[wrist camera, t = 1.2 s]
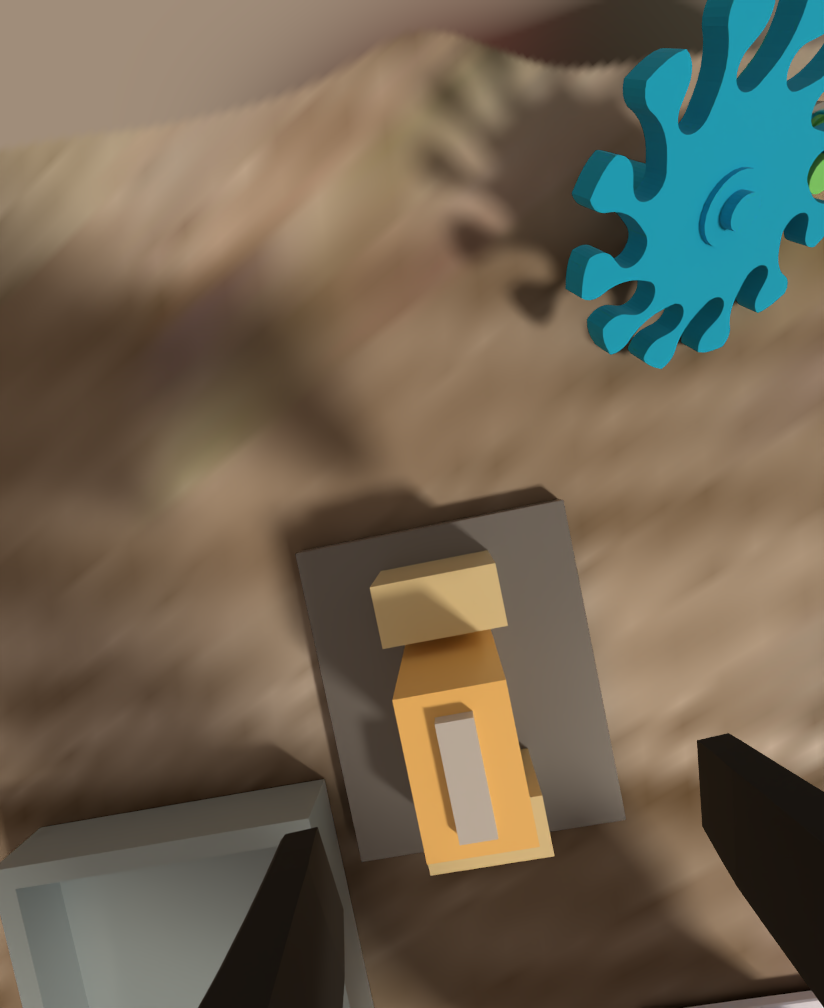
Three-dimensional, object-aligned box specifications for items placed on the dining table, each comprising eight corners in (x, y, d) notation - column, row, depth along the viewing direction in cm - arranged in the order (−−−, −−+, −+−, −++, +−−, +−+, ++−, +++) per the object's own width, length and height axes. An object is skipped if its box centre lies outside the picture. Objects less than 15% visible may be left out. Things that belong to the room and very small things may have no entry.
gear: (601, 425, 19) (581, 76, 12) (513, 352, 23) (458, 61, 16) (869, 281, 19) (1006, -134, 12) (737, 235, 24) (783, -95, 16)
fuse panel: (619, 806, 21) (657, 879, 17) (364, 847, 22) (348, 926, 18) (558, 499, 21) (584, 504, 17) (300, 550, 21) (269, 567, 17)
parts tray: (386, 1065, 22) (379, 1141, 20) (105, 1103, 23) (64, 1180, 20) (324, 778, 22) (308, 818, 19) (40, 827, 22) (-11, 871, 20)
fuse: (511, 737, 20) (542, 857, 14) (432, 751, 20) (426, 876, 14) (487, 619, 20) (507, 685, 14) (407, 634, 20) (390, 706, 14)
